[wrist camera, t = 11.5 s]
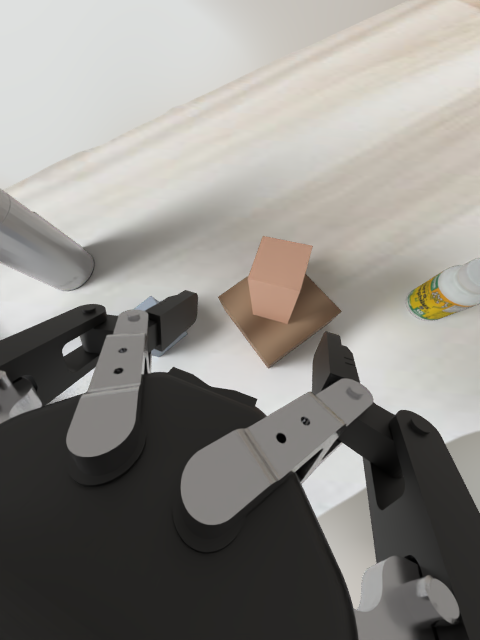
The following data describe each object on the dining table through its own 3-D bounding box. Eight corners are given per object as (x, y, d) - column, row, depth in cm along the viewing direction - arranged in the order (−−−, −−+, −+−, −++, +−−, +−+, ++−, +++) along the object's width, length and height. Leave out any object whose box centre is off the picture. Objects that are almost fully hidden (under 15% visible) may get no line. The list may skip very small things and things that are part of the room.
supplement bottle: (447, 321, 30) (526, 295, 21) (408, 321, 31) (468, 296, 22) (438, 288, 32) (508, 250, 23) (400, 289, 32) (454, 253, 23)
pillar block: (253, 314, 28) (247, 278, 19) (263, 284, 29) (262, 236, 20) (287, 324, 27) (300, 291, 18) (296, 292, 28) (312, 245, 19)
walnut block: (225, 310, 35) (217, 297, 29) (280, 272, 36) (283, 251, 30) (268, 368, 32) (268, 365, 26) (328, 323, 33) (341, 311, 27)
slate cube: (141, 330, 36) (118, 321, 30) (168, 309, 36) (150, 295, 31) (159, 357, 34) (138, 352, 28) (187, 333, 34) (172, 324, 29)
